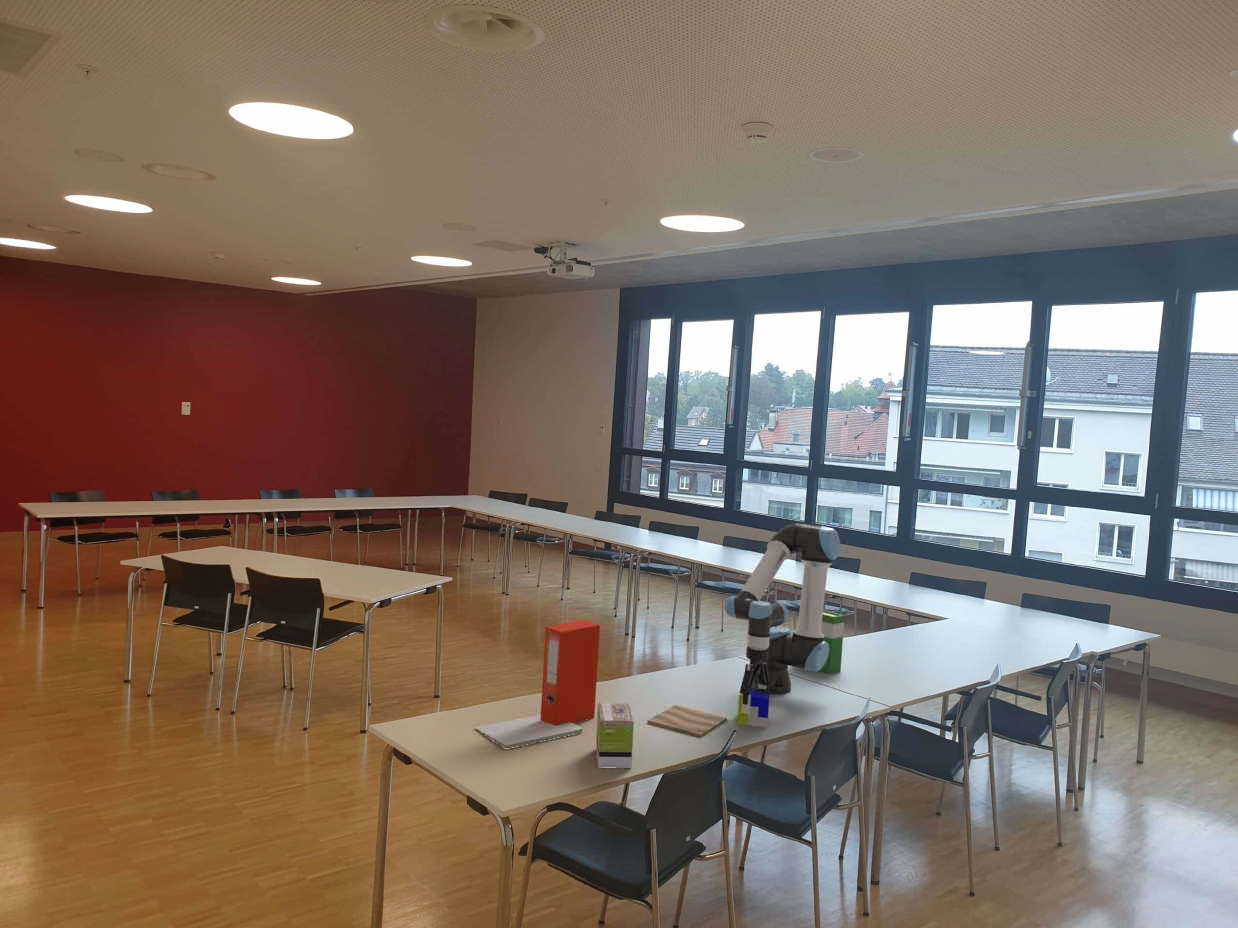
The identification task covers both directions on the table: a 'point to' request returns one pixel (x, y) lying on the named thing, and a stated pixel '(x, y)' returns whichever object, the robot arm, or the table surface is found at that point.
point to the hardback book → (832, 640)
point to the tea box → (614, 735)
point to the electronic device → (526, 731)
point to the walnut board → (687, 720)
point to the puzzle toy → (755, 708)
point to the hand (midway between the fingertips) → (753, 708)
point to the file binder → (570, 672)
